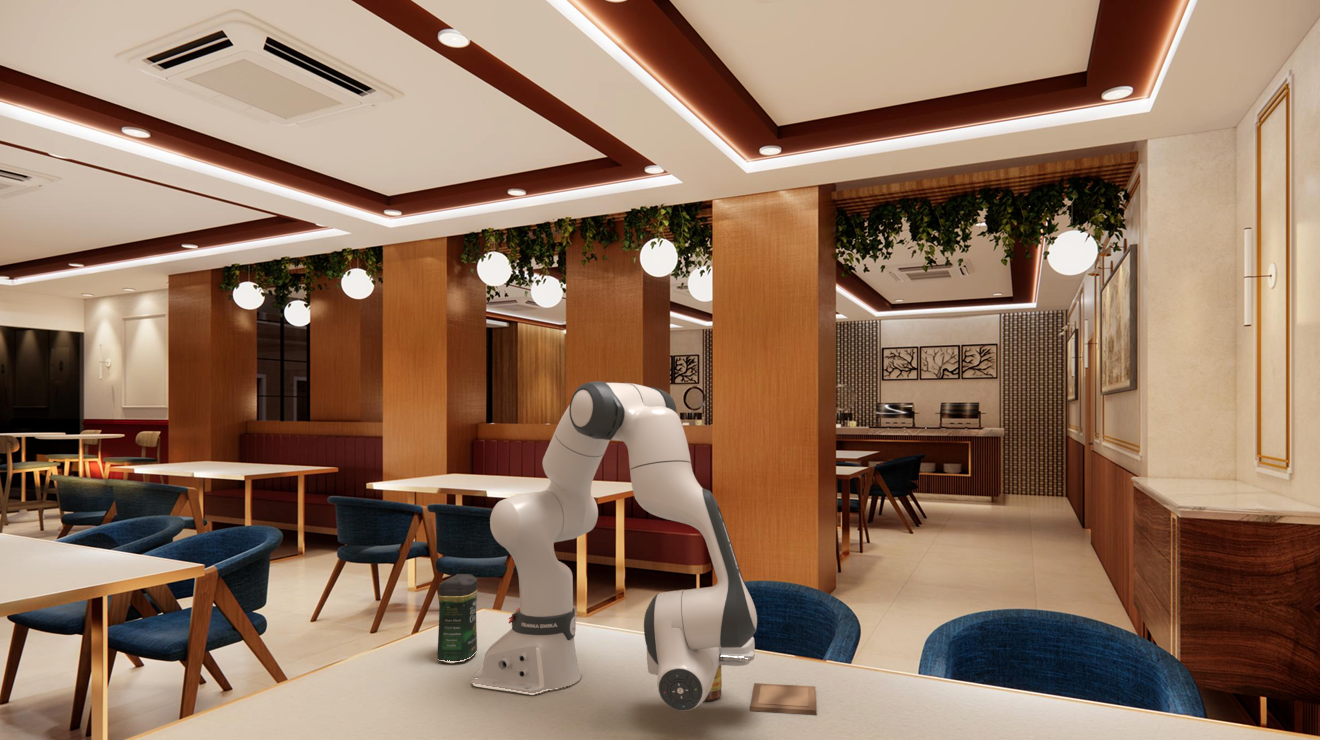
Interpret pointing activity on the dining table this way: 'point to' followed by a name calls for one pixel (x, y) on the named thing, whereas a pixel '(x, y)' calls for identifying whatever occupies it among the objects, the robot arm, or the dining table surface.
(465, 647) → the coffee jar
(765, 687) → the trivet
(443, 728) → the dining table surface
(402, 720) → the dining table surface
